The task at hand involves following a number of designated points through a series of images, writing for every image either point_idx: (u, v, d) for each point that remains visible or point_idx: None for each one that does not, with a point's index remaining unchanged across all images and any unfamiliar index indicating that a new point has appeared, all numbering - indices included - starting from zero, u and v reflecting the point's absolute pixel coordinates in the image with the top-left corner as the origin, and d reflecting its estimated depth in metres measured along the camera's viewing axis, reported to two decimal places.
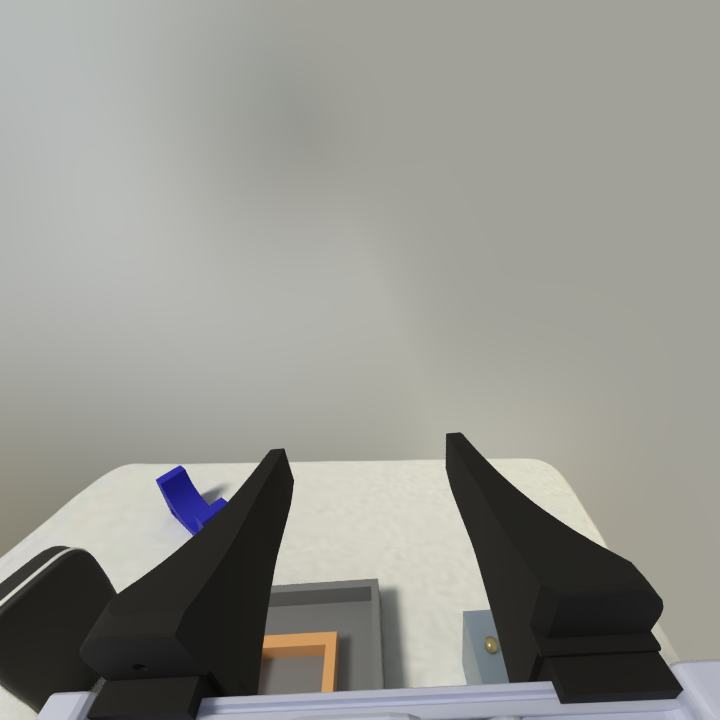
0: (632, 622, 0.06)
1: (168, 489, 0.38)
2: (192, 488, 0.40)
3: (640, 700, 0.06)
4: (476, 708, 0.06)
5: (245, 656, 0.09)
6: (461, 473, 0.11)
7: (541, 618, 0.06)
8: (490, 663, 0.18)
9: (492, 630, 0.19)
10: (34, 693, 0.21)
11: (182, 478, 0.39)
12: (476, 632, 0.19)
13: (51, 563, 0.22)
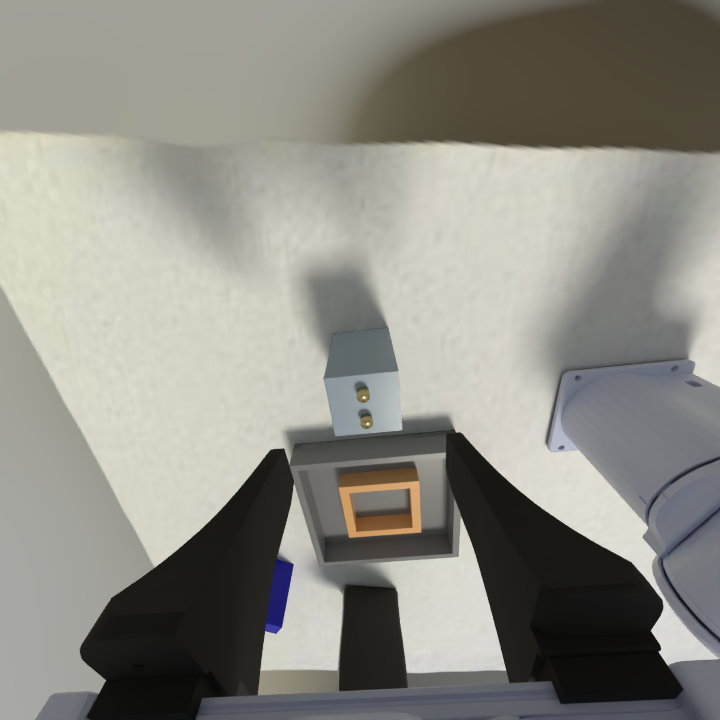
0: (632, 622, 0.06)
1: None
2: None
3: (640, 700, 0.06)
4: (476, 708, 0.06)
5: (245, 656, 0.09)
6: (461, 473, 0.11)
7: (541, 618, 0.06)
8: (380, 421, 0.17)
9: (351, 413, 0.17)
10: (398, 633, 0.33)
11: None
12: (354, 428, 0.18)
13: None
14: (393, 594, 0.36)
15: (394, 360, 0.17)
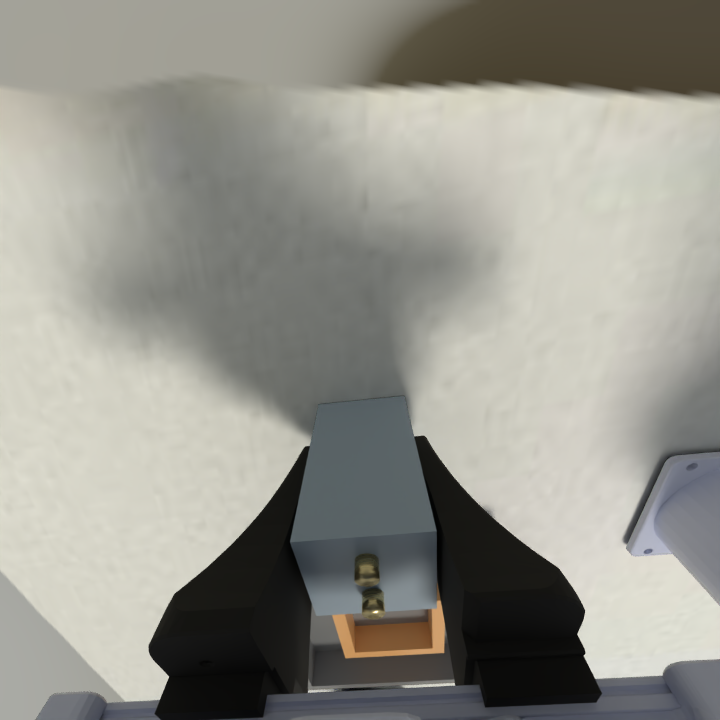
0: (557, 626, 0.06)
1: None
2: None
3: (562, 703, 0.06)
4: (476, 708, 0.06)
5: (298, 653, 0.08)
6: None
7: (469, 622, 0.07)
8: (397, 598, 0.10)
9: (344, 588, 0.09)
10: None
11: None
12: (350, 606, 0.10)
13: None
14: None
15: (424, 491, 0.09)
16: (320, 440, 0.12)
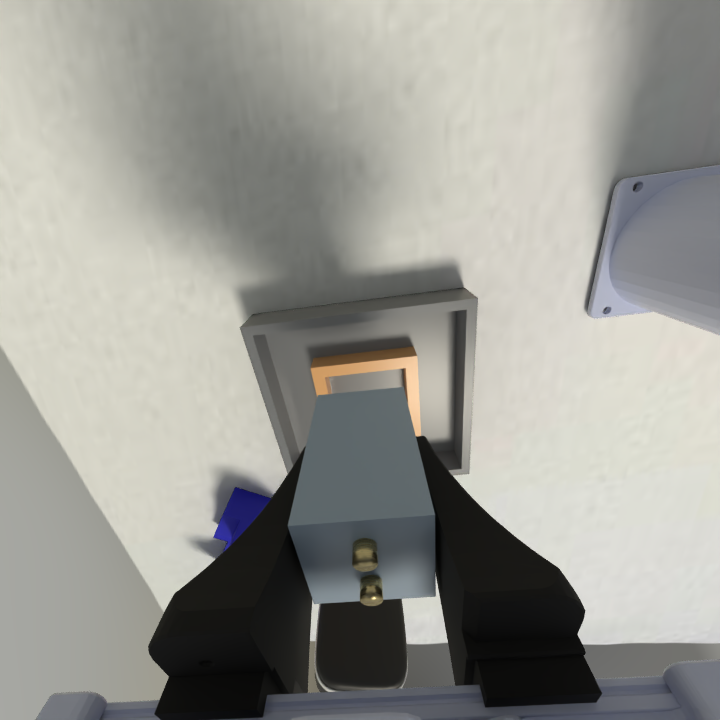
0: (557, 626, 0.06)
1: None
2: None
3: (561, 702, 0.06)
4: (476, 708, 0.06)
5: (297, 653, 0.08)
6: None
7: (469, 622, 0.07)
8: (395, 585, 0.10)
9: (342, 575, 0.09)
10: None
11: None
12: (348, 594, 0.10)
13: (341, 690, 0.20)
14: None
15: (423, 477, 0.09)
16: (319, 429, 0.12)
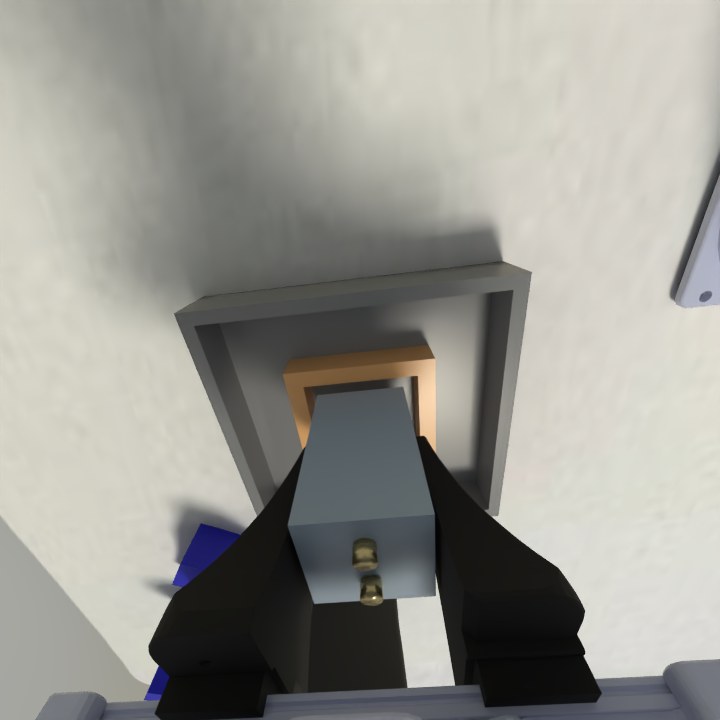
0: (557, 626, 0.06)
1: None
2: None
3: (562, 703, 0.06)
4: (476, 708, 0.06)
5: (298, 653, 0.08)
6: None
7: (469, 622, 0.07)
8: (395, 585, 0.10)
9: (342, 574, 0.09)
10: (397, 644, 0.21)
11: (164, 675, 0.22)
12: (348, 593, 0.10)
13: None
14: None
15: (423, 477, 0.09)
16: (319, 429, 0.12)
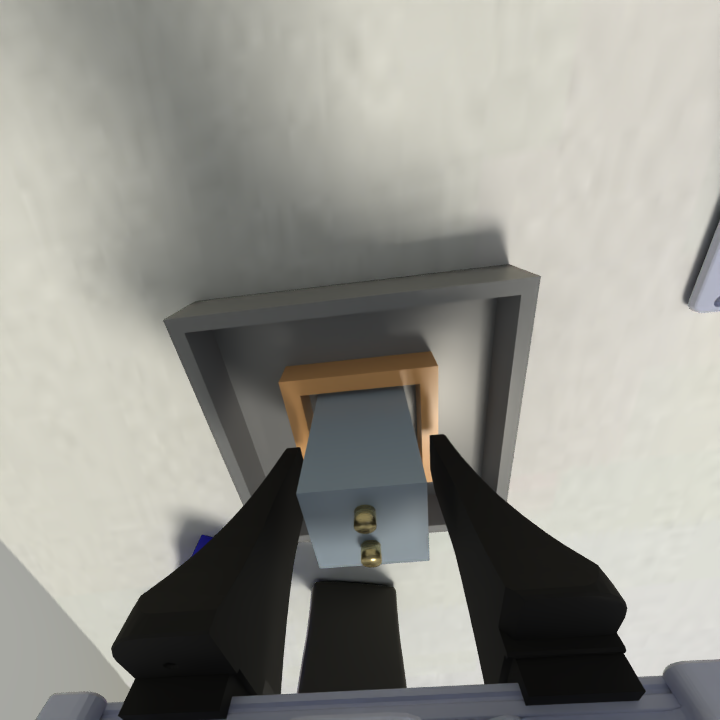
0: (597, 624, 0.06)
1: None
2: None
3: (603, 701, 0.06)
4: (476, 708, 0.06)
5: (269, 655, 0.09)
6: (442, 474, 0.11)
7: (508, 620, 0.07)
8: (393, 550, 0.11)
9: (345, 540, 0.10)
10: (397, 658, 0.20)
11: None
12: (350, 558, 0.11)
13: None
14: (389, 593, 0.23)
15: (417, 452, 0.10)
16: (322, 413, 0.13)
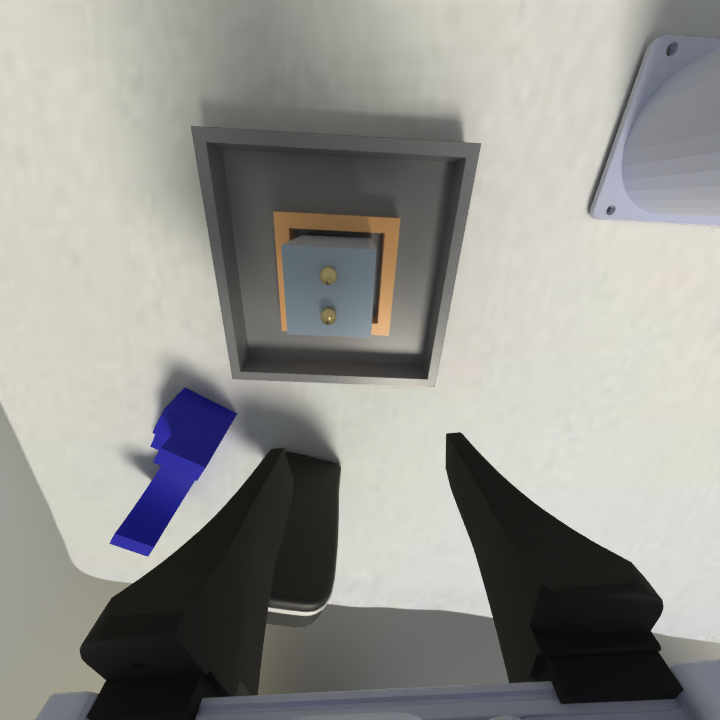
0: (632, 622, 0.06)
1: (157, 529, 0.25)
2: (143, 499, 0.25)
3: (640, 700, 0.06)
4: (476, 708, 0.06)
5: (245, 656, 0.09)
6: (461, 473, 0.11)
7: (541, 618, 0.06)
8: (345, 321, 0.14)
9: (310, 304, 0.14)
10: (334, 504, 0.24)
11: (132, 524, 0.24)
12: (312, 325, 0.14)
13: None
14: (335, 467, 0.27)
15: (373, 246, 0.14)
16: (305, 237, 0.16)
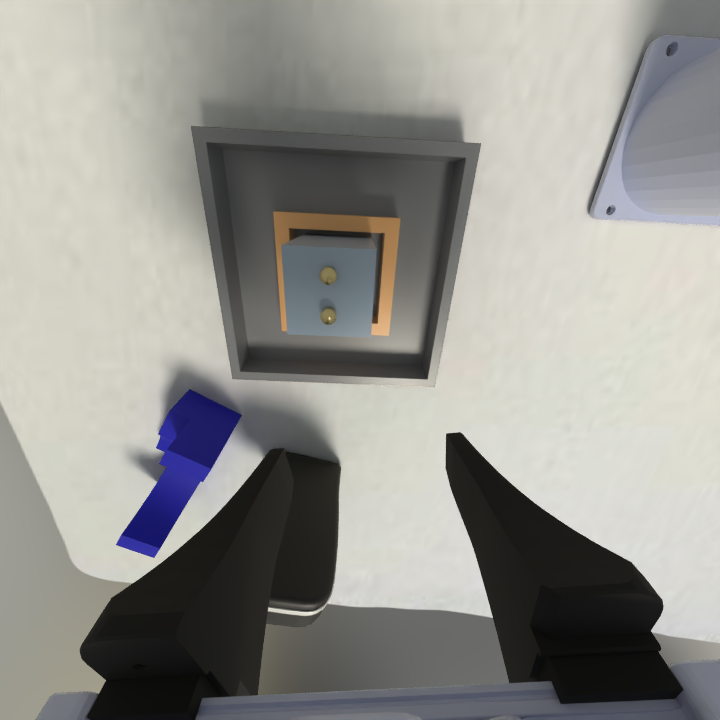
0: (632, 622, 0.06)
1: (163, 531, 0.25)
2: (149, 500, 0.25)
3: (640, 700, 0.06)
4: (476, 708, 0.06)
5: (245, 656, 0.09)
6: (461, 473, 0.11)
7: (541, 618, 0.06)
8: (345, 321, 0.14)
9: (310, 304, 0.14)
10: (334, 504, 0.24)
11: (138, 525, 0.24)
12: (312, 325, 0.14)
13: None
14: (335, 467, 0.27)
15: (373, 246, 0.14)
16: (305, 237, 0.16)
